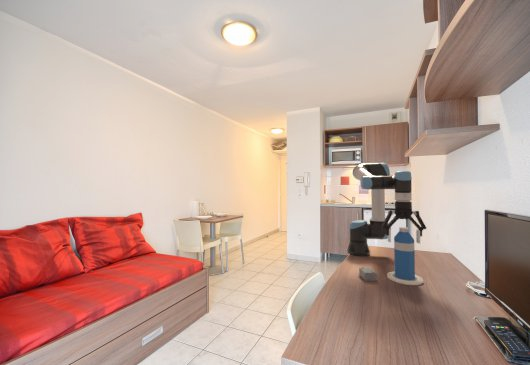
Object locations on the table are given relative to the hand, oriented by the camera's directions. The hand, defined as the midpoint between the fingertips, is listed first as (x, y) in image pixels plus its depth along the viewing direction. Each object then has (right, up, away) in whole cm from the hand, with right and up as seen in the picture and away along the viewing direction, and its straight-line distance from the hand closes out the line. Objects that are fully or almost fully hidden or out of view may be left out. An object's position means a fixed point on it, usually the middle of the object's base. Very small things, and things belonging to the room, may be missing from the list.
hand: (403, 242), depth 124 cm
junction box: (-18, -19, +1) cm, 26 cm away
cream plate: (0, -19, -1) cm, 19 cm away
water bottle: (0, -18, -1) cm, 18 cm away
